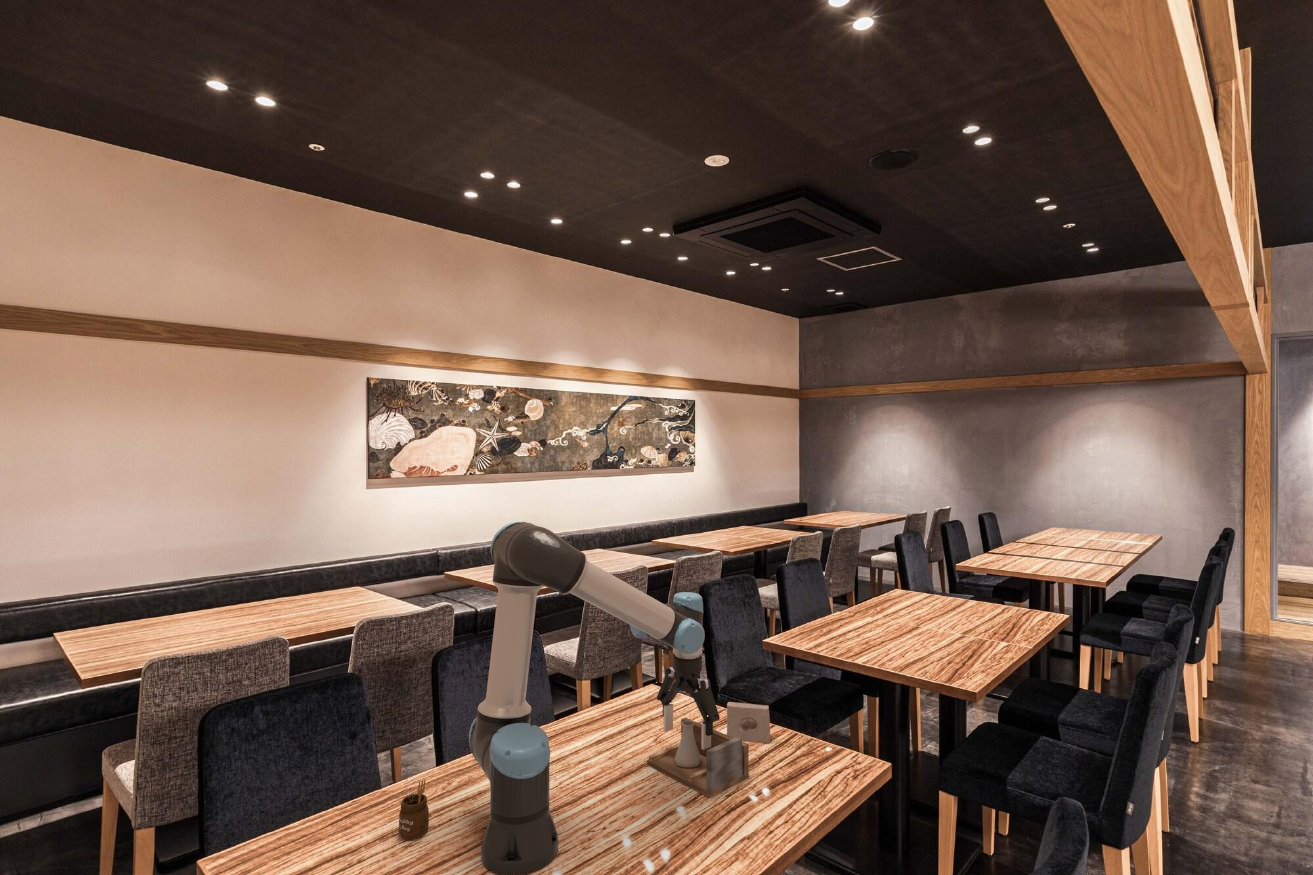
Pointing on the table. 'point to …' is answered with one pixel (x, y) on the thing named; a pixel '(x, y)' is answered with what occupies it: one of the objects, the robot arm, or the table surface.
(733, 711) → the fossil
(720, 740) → the brown open box
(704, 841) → the table surface
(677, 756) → the flask
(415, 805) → the utensil holder
